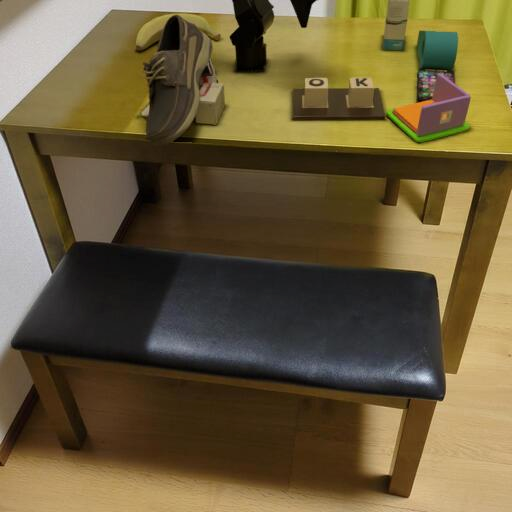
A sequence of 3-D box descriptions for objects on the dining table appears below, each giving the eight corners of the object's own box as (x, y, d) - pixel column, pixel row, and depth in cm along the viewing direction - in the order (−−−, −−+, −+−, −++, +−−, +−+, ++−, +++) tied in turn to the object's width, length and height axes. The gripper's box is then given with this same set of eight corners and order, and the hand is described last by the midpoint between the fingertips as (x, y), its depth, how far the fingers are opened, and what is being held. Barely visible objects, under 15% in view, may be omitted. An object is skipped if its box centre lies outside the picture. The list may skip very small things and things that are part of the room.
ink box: (403, 51, 137) (410, -1, 129) (382, 50, 138) (388, -2, 130) (403, 36, 144) (410, -14, 136) (383, 36, 144) (389, -14, 136)
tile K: (349, 106, 117) (351, 87, 114) (348, 95, 120) (349, 76, 117) (372, 106, 116) (374, 87, 114) (370, 95, 120) (372, 76, 117)
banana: (144, 3, 146) (223, 13, 146) (146, 22, 151) (223, 32, 151) (132, 38, 139) (215, 48, 139) (135, 57, 144) (215, 67, 143)
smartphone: (416, 99, 117) (417, 67, 128) (415, 103, 118) (417, 71, 129) (456, 102, 116) (454, 69, 127) (455, 106, 117) (453, 73, 127)
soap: (157, 120, 117) (156, 116, 116) (137, 117, 118) (136, 113, 117) (176, 97, 124) (176, 93, 123) (157, 95, 125) (157, 91, 124)
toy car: (211, 63, 136) (209, 31, 131) (221, 99, 123) (218, 64, 118) (179, 66, 135) (175, 34, 130) (185, 102, 122) (180, 67, 117)
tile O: (304, 106, 117) (305, 87, 114) (304, 96, 121) (305, 77, 118) (327, 106, 117) (328, 87, 114) (326, 96, 120) (327, 76, 117)
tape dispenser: (421, 74, 128) (426, 39, 123) (416, 46, 139) (421, 13, 134) (452, 75, 127) (459, 40, 122) (445, 47, 138) (451, 14, 133)
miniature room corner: (471, 129, 110) (480, 97, 105) (417, 144, 107) (424, 110, 102) (435, 101, 118) (441, 69, 113) (383, 113, 115) (388, 81, 110)
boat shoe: (151, 162, 110) (108, 128, 103) (179, 57, 125) (143, 21, 118) (193, 143, 104) (150, 105, 97) (217, 34, 119) (182, -5, 112)
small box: (203, 81, 118) (193, 100, 112) (224, 83, 117) (214, 101, 111) (205, 104, 121) (195, 123, 115) (225, 106, 120) (216, 125, 115)
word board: (292, 120, 115) (292, 116, 115) (293, 91, 124) (293, 88, 123) (384, 119, 114) (385, 115, 113) (378, 91, 123) (378, 87, 122)
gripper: (350, -50, 105) (344, 36, 115) (344, -76, 118) (339, 3, 129) (288, -49, 105) (288, 37, 116) (290, -75, 119) (289, 3, 129)
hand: (303, 19), depth 122 cm, fingers open, 9 cm apart
